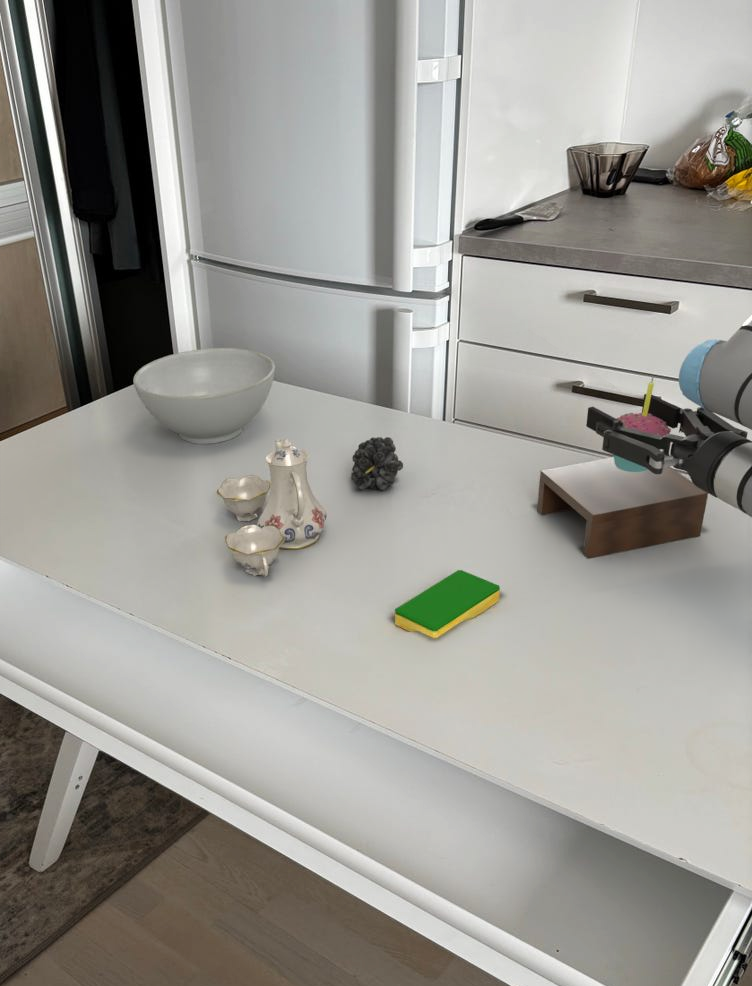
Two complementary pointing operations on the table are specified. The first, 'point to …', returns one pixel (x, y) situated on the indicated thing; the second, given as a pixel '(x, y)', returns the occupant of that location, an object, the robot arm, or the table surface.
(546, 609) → the table surface
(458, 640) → the table surface
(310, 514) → the chinaware
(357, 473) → the fruit
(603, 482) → the shelf
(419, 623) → the dish sponge
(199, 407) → the decorative bowl
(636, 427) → the cupcake
